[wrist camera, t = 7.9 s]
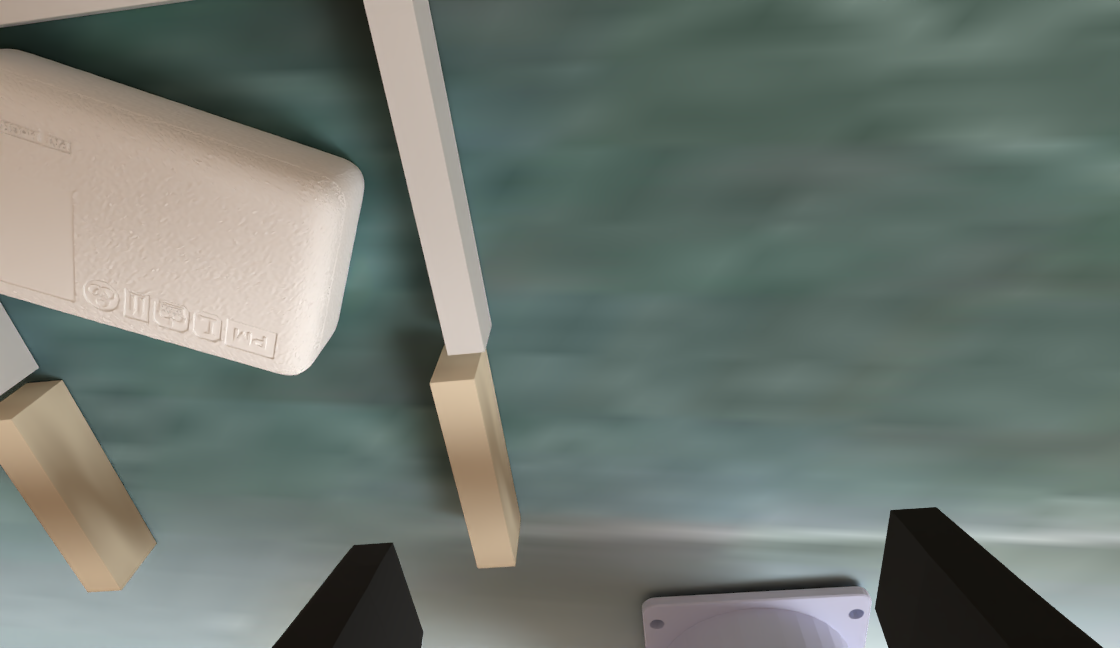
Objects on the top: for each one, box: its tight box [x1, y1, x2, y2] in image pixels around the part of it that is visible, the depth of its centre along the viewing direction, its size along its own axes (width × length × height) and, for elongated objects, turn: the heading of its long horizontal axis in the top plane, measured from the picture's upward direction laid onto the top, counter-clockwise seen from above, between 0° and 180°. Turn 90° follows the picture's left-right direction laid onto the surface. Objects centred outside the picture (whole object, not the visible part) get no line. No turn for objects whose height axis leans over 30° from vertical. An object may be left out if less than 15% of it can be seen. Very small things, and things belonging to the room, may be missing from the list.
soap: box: [0, 49, 364, 375], centre depth 16 cm, size 9×6×3 cm, turn 71°
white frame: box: [0, 0, 492, 395], centre depth 16 cm, size 10×15×2 cm, turn 97°
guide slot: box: [0, 345, 521, 592], centre depth 20 cm, size 7×14×2 cm, turn 97°
